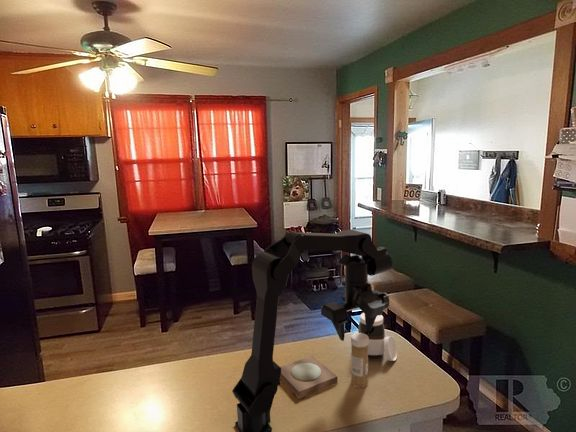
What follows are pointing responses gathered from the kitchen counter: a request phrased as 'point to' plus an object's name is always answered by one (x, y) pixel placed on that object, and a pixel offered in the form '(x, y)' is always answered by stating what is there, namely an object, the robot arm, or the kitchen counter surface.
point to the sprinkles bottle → (359, 359)
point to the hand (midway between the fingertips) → (355, 335)
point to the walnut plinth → (307, 376)
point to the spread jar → (378, 339)
